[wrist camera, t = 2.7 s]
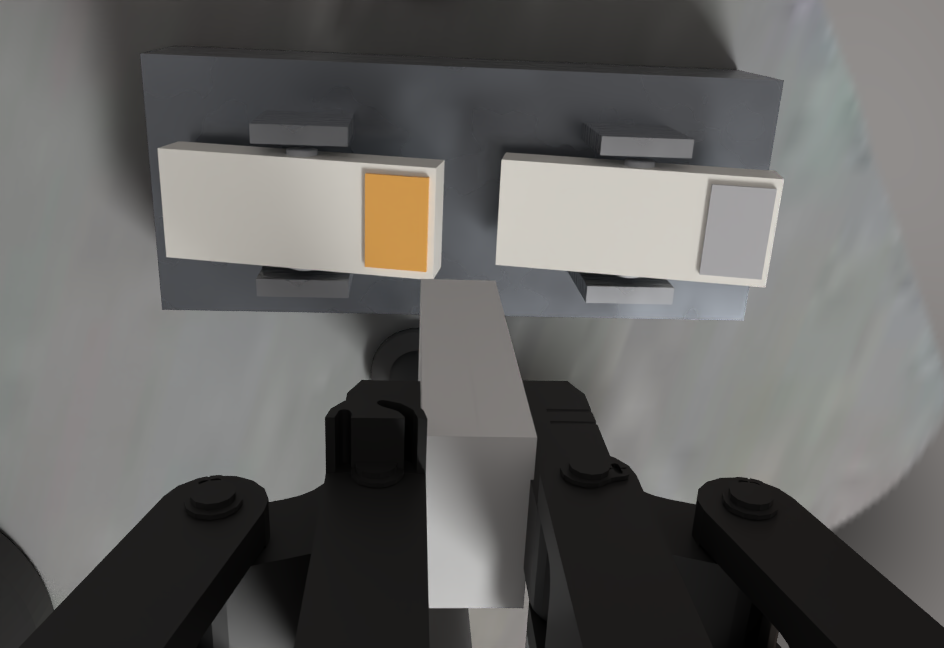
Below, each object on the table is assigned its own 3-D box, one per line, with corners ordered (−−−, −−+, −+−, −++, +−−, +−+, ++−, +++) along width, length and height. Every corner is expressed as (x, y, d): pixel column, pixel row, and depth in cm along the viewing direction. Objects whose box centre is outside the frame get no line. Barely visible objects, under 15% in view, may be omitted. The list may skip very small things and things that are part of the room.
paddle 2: (500, 257, 31) (494, 270, 30) (506, 147, 30) (501, 155, 28) (757, 278, 30) (765, 293, 29) (776, 166, 29) (785, 175, 27)
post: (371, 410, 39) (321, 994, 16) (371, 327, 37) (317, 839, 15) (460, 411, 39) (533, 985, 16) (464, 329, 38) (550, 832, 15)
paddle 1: (187, 249, 30) (164, 262, 29) (178, 136, 29) (154, 143, 27) (440, 271, 29) (431, 286, 28) (444, 154, 28) (435, 163, 26)
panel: (190, 272, 36) (137, 342, 29) (174, 45, 33) (108, 60, 26) (706, 284, 38) (776, 352, 31) (737, 70, 35) (825, 89, 27)
